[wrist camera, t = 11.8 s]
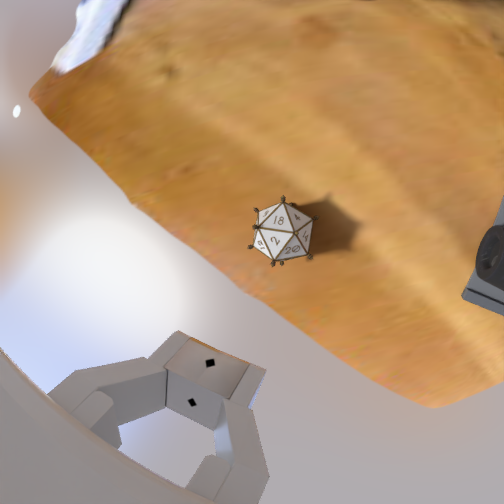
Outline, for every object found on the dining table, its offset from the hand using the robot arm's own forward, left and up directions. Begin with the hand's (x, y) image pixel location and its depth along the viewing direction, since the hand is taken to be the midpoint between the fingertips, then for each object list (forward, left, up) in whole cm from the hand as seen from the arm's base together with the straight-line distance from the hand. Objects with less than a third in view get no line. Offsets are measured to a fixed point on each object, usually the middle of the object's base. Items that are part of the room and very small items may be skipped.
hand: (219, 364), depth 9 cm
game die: (+6, -4, -33) cm, 34 cm away
